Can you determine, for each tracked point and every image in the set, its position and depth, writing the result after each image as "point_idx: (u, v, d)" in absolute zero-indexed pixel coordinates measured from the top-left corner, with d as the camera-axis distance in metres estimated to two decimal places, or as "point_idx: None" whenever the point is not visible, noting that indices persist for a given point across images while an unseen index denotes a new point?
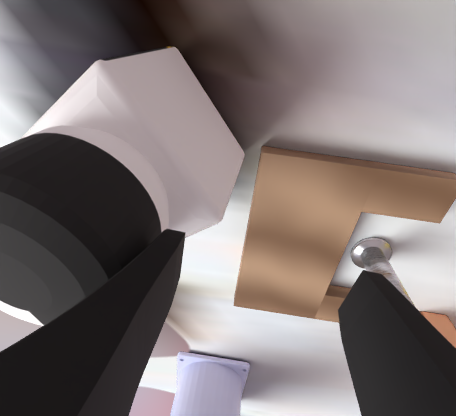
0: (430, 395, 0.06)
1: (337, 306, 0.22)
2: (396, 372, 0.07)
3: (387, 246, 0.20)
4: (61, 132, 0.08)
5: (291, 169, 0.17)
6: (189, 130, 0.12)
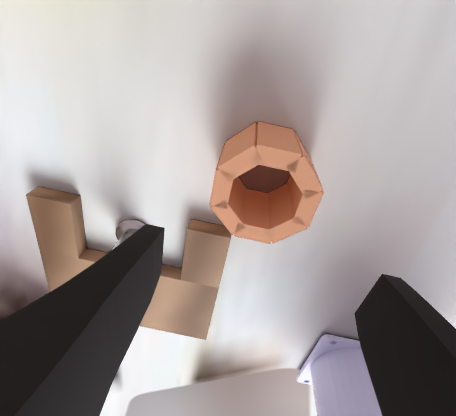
0: None
1: (196, 270, 0.20)
2: (422, 378, 0.07)
3: (120, 226, 0.20)
4: None
5: None
6: None
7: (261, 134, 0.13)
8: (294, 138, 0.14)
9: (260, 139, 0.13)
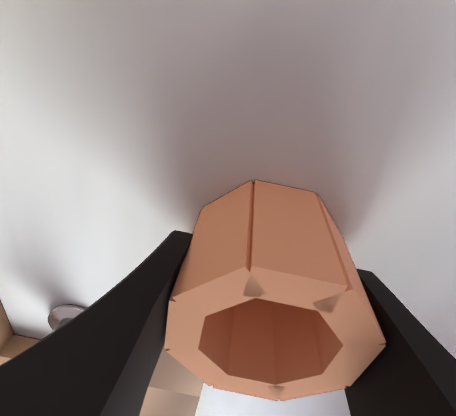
0: (415, 392, 0.06)
1: (165, 377, 0.14)
2: (383, 370, 0.07)
3: (53, 314, 0.14)
4: None
5: None
6: None
7: (260, 223, 0.07)
8: (323, 223, 0.07)
9: (259, 241, 0.06)
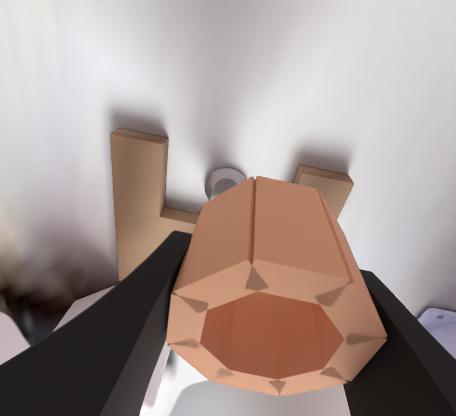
0: (415, 392, 0.06)
1: None
2: (383, 370, 0.07)
3: (213, 176, 0.17)
4: None
5: (127, 265, 0.21)
6: None
7: (262, 217, 0.07)
8: (324, 218, 0.07)
9: (261, 235, 0.06)
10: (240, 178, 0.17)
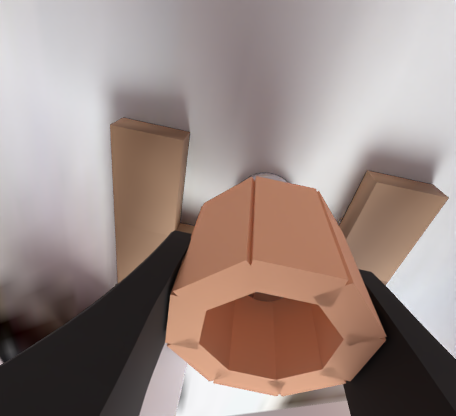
0: (415, 392, 0.06)
1: (362, 253, 0.13)
2: (384, 370, 0.06)
3: None
4: None
5: None
6: None
7: (261, 218, 0.07)
8: (323, 219, 0.07)
9: (260, 236, 0.06)
10: None
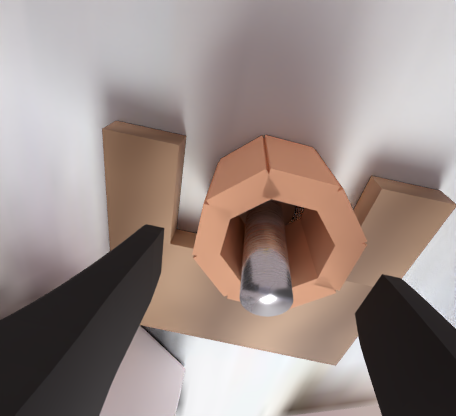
0: None
1: (366, 262, 0.12)
2: (422, 378, 0.07)
3: None
4: None
5: None
6: None
7: (273, 153, 0.09)
8: (320, 160, 0.10)
9: (274, 160, 0.08)
10: None
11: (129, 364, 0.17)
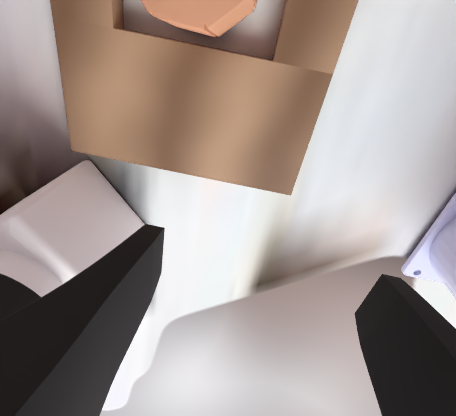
0: None
1: (303, 33, 0.13)
2: (421, 377, 0.07)
3: None
4: None
5: (80, 122, 0.16)
6: (3, 214, 0.16)
7: None
8: None
9: None
10: None
11: (86, 193, 0.17)
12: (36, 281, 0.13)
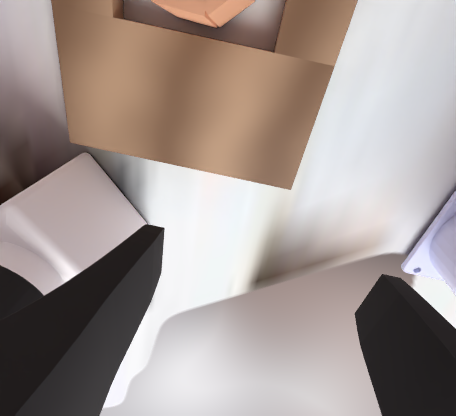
0: None
1: (305, 24, 0.13)
2: (422, 378, 0.07)
3: None
4: None
5: (79, 113, 0.16)
6: None
7: None
8: None
9: None
10: None
11: (84, 186, 0.17)
12: (32, 272, 0.13)
